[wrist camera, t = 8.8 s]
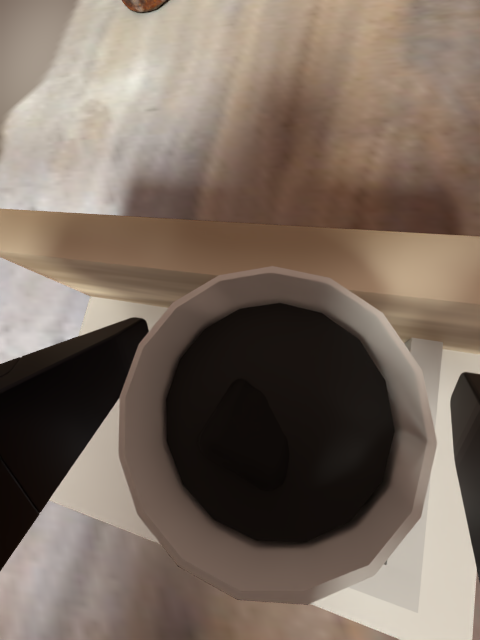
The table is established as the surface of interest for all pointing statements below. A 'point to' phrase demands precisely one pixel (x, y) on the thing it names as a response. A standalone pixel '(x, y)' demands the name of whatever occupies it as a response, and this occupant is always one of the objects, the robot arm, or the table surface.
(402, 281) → the ash wall board
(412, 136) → the table surface
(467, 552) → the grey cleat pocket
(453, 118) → the table surface
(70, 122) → the table surface
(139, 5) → the sauce bottle
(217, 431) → the white coffee cup
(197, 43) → the table surface
